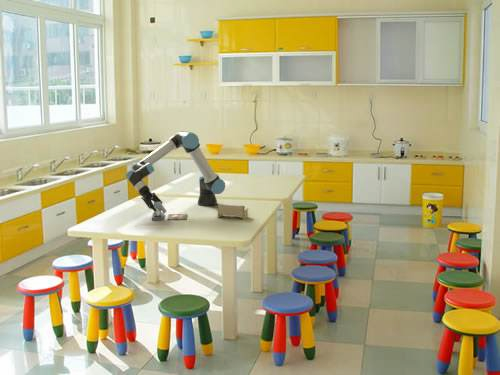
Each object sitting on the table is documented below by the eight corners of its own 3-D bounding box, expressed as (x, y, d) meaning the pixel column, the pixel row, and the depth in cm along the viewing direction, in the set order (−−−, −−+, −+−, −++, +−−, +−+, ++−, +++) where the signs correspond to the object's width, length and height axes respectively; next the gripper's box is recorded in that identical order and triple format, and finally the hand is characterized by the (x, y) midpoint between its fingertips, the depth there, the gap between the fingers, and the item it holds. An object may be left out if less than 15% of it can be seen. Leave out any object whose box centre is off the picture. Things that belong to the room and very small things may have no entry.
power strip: (153, 216, 464) (152, 211, 464) (164, 216, 465) (164, 211, 464) (151, 222, 447) (151, 216, 446) (163, 222, 447) (163, 216, 447)
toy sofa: (248, 217, 458) (248, 203, 456) (245, 220, 450) (245, 205, 448) (220, 215, 464) (220, 201, 462) (216, 218, 455) (216, 204, 454)
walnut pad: (187, 215, 465) (186, 213, 464) (186, 220, 449) (186, 218, 449) (168, 215, 464) (168, 214, 464) (167, 220, 448) (167, 219, 448)
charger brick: (161, 217, 455) (161, 201, 452) (161, 219, 450) (160, 203, 447) (154, 217, 454) (154, 201, 451) (154, 219, 450) (153, 203, 447)
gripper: (147, 189, 464) (167, 213, 460) (130, 194, 446) (151, 219, 442) (153, 182, 461) (173, 207, 456) (136, 187, 443) (157, 212, 439)
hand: (162, 213), depth 449 cm, fingers closed on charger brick, 7 cm apart
